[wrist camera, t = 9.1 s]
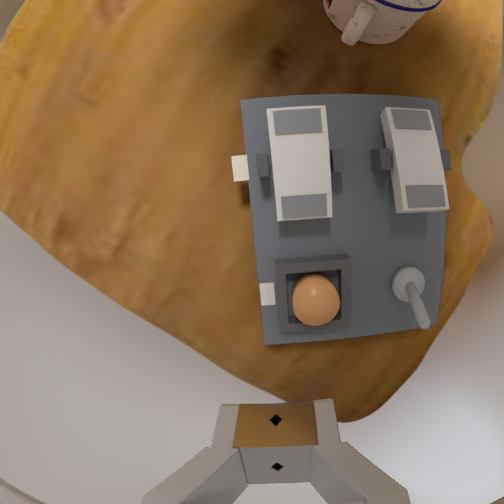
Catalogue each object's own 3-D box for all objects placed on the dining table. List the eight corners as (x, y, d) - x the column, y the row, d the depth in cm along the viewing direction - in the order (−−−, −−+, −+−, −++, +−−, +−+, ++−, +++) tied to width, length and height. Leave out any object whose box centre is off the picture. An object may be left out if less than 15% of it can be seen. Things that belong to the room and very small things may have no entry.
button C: (290, 273, 25) (291, 284, 23) (334, 270, 25) (339, 280, 22) (292, 313, 26) (294, 327, 24) (334, 310, 26) (339, 323, 23)
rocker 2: (379, 115, 21) (386, 106, 20) (422, 117, 21) (430, 109, 19) (396, 213, 21) (404, 210, 20) (439, 211, 21) (450, 208, 19)
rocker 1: (266, 110, 21) (266, 108, 19) (321, 106, 20) (325, 105, 19) (276, 214, 24) (277, 221, 22) (328, 211, 23) (332, 217, 22)
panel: (231, 109, 25) (213, 85, 17) (423, 104, 23) (468, 87, 16) (254, 329, 30) (247, 379, 23) (424, 312, 29) (459, 351, 21)
